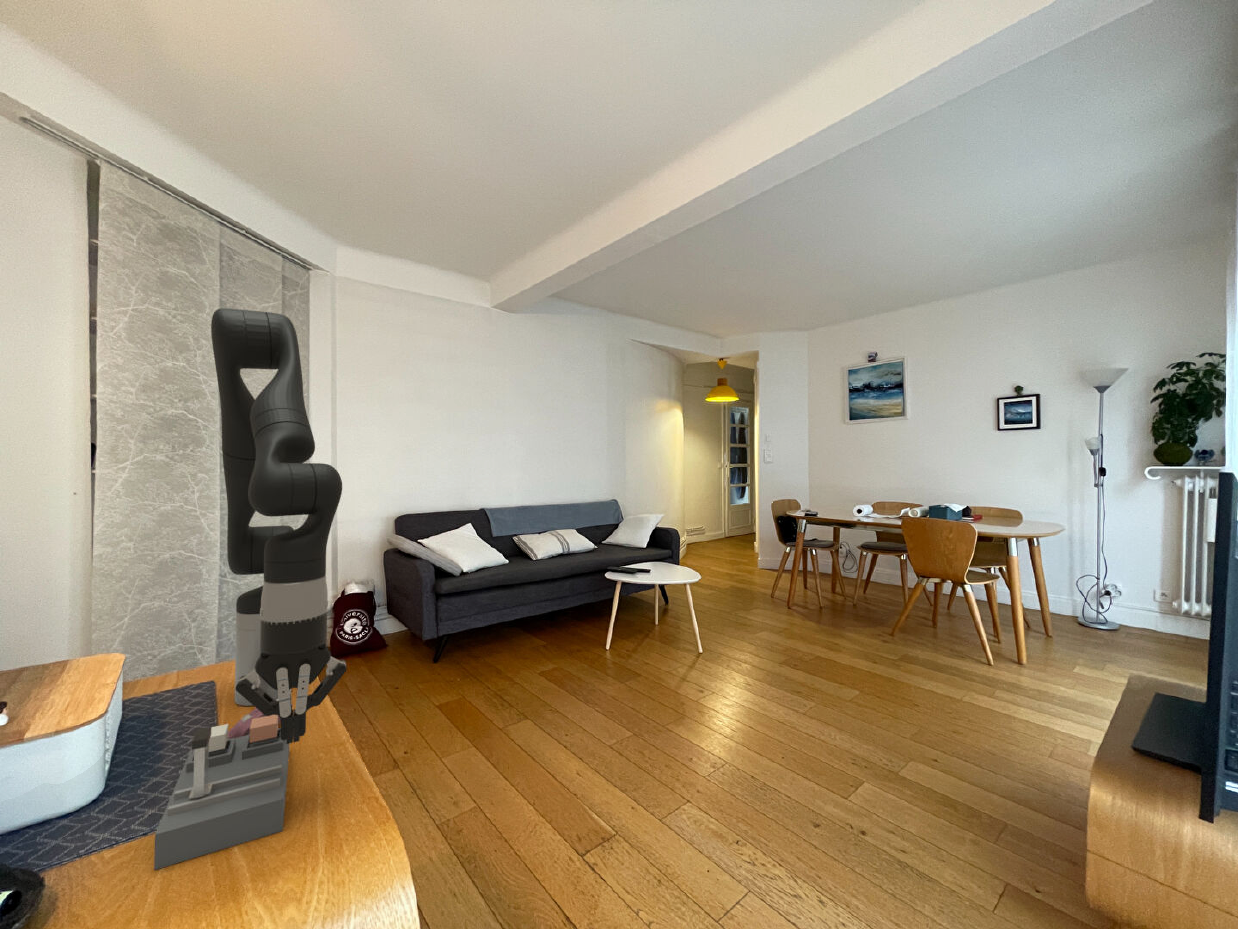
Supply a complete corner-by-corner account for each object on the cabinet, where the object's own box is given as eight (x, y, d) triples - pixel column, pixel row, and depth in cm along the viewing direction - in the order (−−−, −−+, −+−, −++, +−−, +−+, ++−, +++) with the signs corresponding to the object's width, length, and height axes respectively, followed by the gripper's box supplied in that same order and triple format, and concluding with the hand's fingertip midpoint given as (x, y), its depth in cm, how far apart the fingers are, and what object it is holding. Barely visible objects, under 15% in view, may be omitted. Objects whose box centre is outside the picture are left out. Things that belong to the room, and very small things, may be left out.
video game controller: (232, 765, 78) (250, 728, 78) (211, 749, 79) (228, 711, 78) (286, 732, 88) (302, 699, 87) (266, 718, 89) (282, 684, 88)
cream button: (199, 743, 71) (200, 729, 71) (228, 737, 73) (228, 724, 73) (195, 755, 68) (195, 740, 68) (224, 748, 70) (225, 734, 70)
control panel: (191, 774, 73) (191, 739, 73) (289, 751, 79) (289, 718, 79) (154, 870, 56) (155, 824, 56) (282, 831, 62) (283, 789, 62)
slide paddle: (193, 793, 63) (194, 730, 63) (213, 788, 64) (214, 726, 64) (187, 808, 60) (188, 742, 60) (208, 803, 61) (209, 738, 61)
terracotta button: (252, 732, 74) (252, 719, 74) (277, 727, 76) (278, 713, 76) (249, 743, 71) (249, 729, 71) (276, 736, 73) (276, 723, 73)
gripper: (349, 598, 74) (347, 715, 74) (237, 610, 67) (235, 740, 67) (352, 611, 67) (350, 740, 67) (229, 627, 60) (226, 770, 60)
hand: (292, 740), depth 67 cm, fingers closed
